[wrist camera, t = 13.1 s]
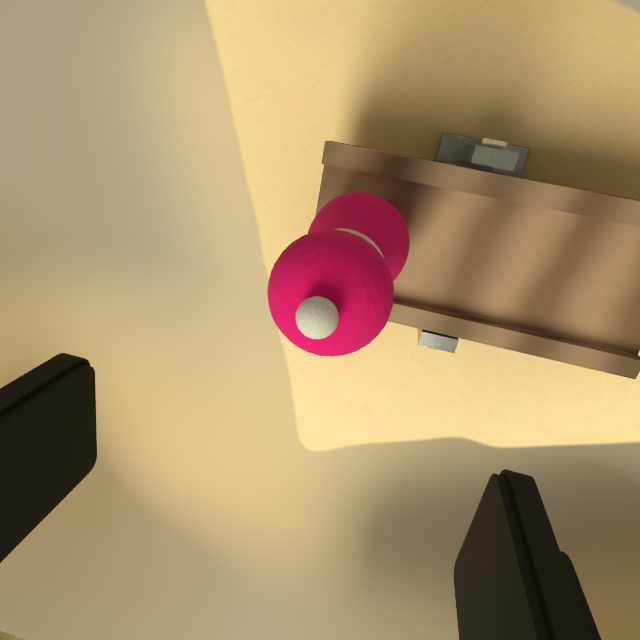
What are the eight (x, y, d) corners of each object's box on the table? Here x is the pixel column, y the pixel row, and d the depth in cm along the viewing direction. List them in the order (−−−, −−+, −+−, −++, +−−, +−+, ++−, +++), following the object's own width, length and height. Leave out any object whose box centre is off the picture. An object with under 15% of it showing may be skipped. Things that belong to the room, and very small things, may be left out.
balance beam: (695, 211, 33) (719, 216, 30) (620, 363, 37) (635, 379, 35) (331, 141, 36) (325, 140, 33) (305, 290, 40) (298, 300, 38)
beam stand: (527, 148, 38) (552, 149, 31) (466, 332, 44) (476, 365, 38) (443, 132, 38) (449, 130, 32) (395, 315, 45) (393, 345, 38)
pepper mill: (356, 166, 34) (291, 192, 16) (429, 226, 35) (447, 316, 17) (302, 240, 37) (194, 333, 19) (370, 294, 38) (330, 435, 20)
